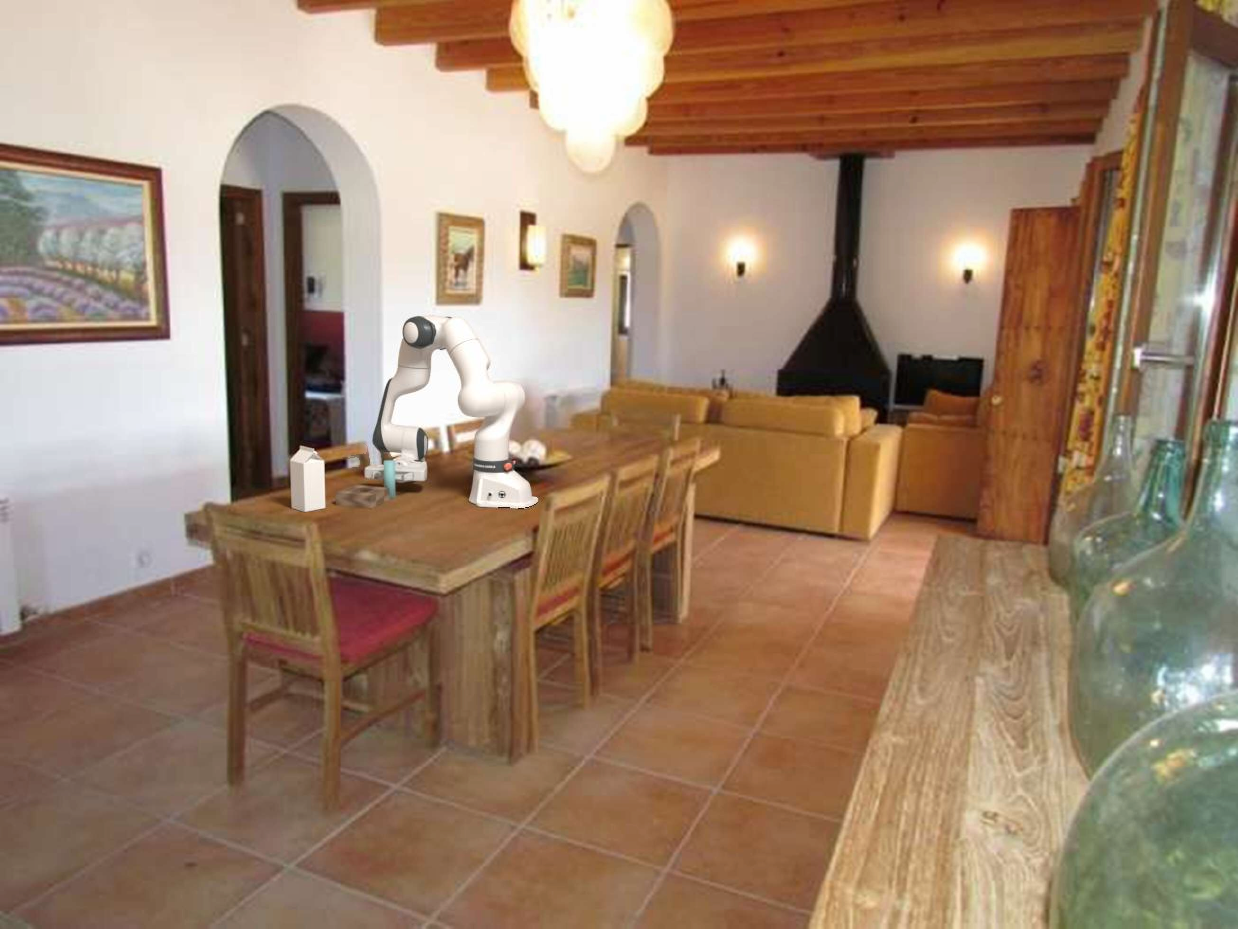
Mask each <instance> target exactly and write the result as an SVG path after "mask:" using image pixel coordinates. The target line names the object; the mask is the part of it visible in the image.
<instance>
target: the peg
mask: <svg viewBox="0 0 1238 929" xmlns="http://www.w3.org/2000/svg"><path fill="white" fill-rule="evenodd" d="M383 465H384V479H383V487H384V488H389V499H394V498H396V482H395V460H393V459H386V460H383Z"/></svg>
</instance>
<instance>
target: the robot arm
mask: <svg viewBox="0 0 1238 929" xmlns="http://www.w3.org/2000/svg"><path fill="white" fill-rule="evenodd" d="M435 350H436V351H437V350H440V351H445V350H446V352H447V354H448V356H449V358H450V359H451V362H452V364H453V365H454V367H455V368H454V369H455V370H456V371H457V374H458V376H459V378H460V380H459V381H460V384H461V385H460V387H461V388H460V391H459V392H458V396H457V406H458V408H459V410H460V412H461V413H462V414H463V415H465V416H467V417H472V418H477V419H479V418H481V419H482V418H484V419H483V422H482V424H481V425H480V427H479V428H478V429H477V430H476V432H475V433H474V439H473V440H474V441H473V442H474V443H473V447H474V449H473V451H474V455H473V456H474V457H473V458H472V474H473V476H472V477H473V478H472V484H471V491H470V495H469V498H468V501H469V502H470V503H472V504H474V505H475V506H477V507H483V508H498V507H510V508H509V509H518V508H524V509H526V508H525V507H529V506H532V505H534V504H536V503H537V502H538V503H539V498H538V497H537V496H533V494H532V488H531V485H530V482H529V481H528V480H526V479H525V478H524V477H523V476H521V475H520V474H519V473H518V472H517V471H515V464H516V460H512V459H511V458H510V457H509V455H510V454H509V448H510V435H511V431H512V430H511V429H512V426H513V423H514V421H515V418H516V416H517V414H518V412H519V411H520V410H521V409H522V408H523V407H524V404H525V401H526V393H525V390H524V388H523V387H522V385H521V384H520V383H517V382H515V381H510V380H498V381H497V380H496V381H495V380H494V381H493V380H491V379H490V377H489V375H488V374H489V372H488V370H489V368H490V366H491V359H490V357H489V355H488V353H487V351H486V350H485V346H484V345H483V343H482V342H481V340H480V338H479V337H478V335H477V334H476V332H475V331H474V329H473V328H472V327H471V326H470V324H469V323H468V321H466V320H465V319H464V318H462V317H460V316H456V317H455V316H454V317H452V316H440V315H423V316H421V315H416V316H412V317H410V318H407V320H406V321H405V322H404V323H403V326H402V339H401V343H400V347H399V350H398V357H397V368H396V369H397V370H396V372H395V374H394V376H393V377H391V378H389V379H388V381H387V382H386V383H385V384H386V385H385V387H384V391H383V394H382V399H381V403H380V408H379V412H378V417H377V419H376V420H377V421H376V423H375V427H374V430H373V434H372V437H371V438H372V441H371V442H372V444H373V446H374V448H375V449H377V451H379V453H396V454H400V455H399V456H396V457H395V458H393V459H392V460H395V483H399V484H403V483H407V482H408V483H409V482H413V481H414V482H425V481H427V477H428V464H427V461H426V459H425V457H426V456H427V455H428V454H427V453H428V450H429V438H428V435H427V433H426V431H425V430H424V429H423V428H422V427H419V426H418V427H417V426H411V425H400V424H394V423H392V418H393V414H394V410H395V404H396V402H397V400H398V399H399V398H400V397H401V396H404V395H408V394H411V393H415V392H418V391H421V390H422V389H424V388H425V387H427V385H428V384H429V382H430V378H431V371H432V355H433V353H434V352H435ZM363 473H364V478H366V479H371V480H384V464H377V463H376V464H371V465H368V466H366V467H364V472H363ZM538 503H537V504H538ZM537 504H536V505H537ZM534 506H535V505H534ZM532 507H533V506H532ZM529 508H530V507H529Z"/></svg>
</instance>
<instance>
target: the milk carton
mask: <svg viewBox="0 0 1238 929" xmlns="http://www.w3.org/2000/svg"><path fill="white" fill-rule="evenodd" d="M289 465H290V466H289V467H290V468H289V469H290V471H289V472H290V497H291V500H290V501H291V509H294V510H297V511H300V512H304V513H307V512H312V511H318V510H322V509H326V481H325V480H326V479H325V477H326V476H325V460H324V459H323V458H322V457H321V456H320V455H318V452H317V451H315V448H312V447H307V446H304V445H299V450H298V451H297V452H296V453H295V454H294V455H293V456H291V459H290V460H289Z"/></svg>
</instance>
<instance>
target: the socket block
mask: <svg viewBox="0 0 1238 929" xmlns="http://www.w3.org/2000/svg"><path fill="white" fill-rule="evenodd" d="M389 501H390V498H389V488H384V486H383V487H382V486H372V485H362V484H354V485H351V486H348V487H346V488H344V489H340V490H339V491H335V506H342V507H350V508H351V507H353V508H360V507H361V509H362V508H363V509H370V508H371V509H373V508H376V507H378V506H379V504H380V505H382V504H383V503H387V502H389ZM381 503H382V504H381ZM377 505H378V506H377Z"/></svg>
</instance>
